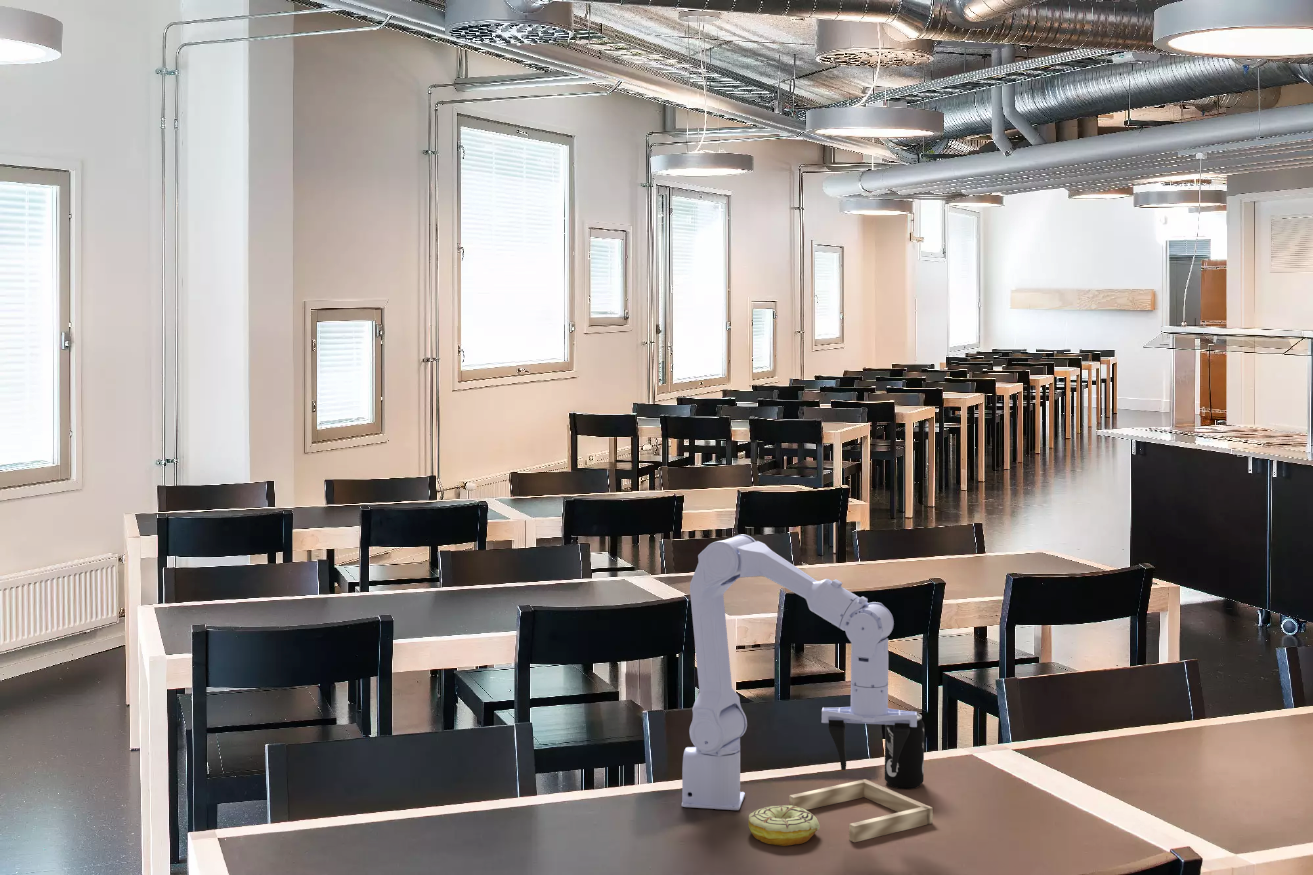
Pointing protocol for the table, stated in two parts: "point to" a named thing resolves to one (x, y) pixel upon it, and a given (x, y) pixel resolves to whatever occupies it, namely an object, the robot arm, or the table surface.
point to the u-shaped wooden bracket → (907, 808)
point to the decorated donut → (783, 825)
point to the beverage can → (906, 758)
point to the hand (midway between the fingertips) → (868, 769)
